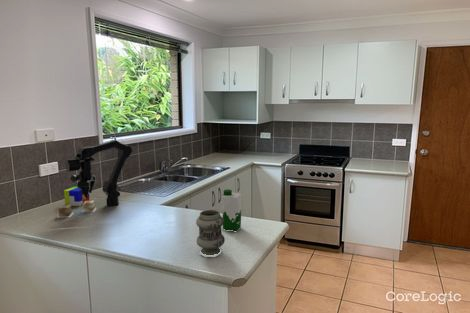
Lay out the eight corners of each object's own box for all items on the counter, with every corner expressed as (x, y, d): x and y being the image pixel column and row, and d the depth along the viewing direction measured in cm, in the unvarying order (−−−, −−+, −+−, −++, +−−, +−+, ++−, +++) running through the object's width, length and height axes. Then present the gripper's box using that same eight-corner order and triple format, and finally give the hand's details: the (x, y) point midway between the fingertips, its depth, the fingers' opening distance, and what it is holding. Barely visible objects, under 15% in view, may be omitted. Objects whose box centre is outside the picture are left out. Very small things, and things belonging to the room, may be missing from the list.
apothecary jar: (203, 245, 151) (202, 206, 148) (228, 248, 148) (228, 209, 145) (192, 257, 140) (191, 215, 137) (219, 260, 136) (218, 218, 134)
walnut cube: (71, 213, 193) (71, 205, 192) (68, 216, 188) (68, 207, 187) (62, 213, 192) (61, 205, 191) (59, 216, 187) (58, 208, 186)
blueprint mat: (97, 208, 203) (97, 207, 203) (90, 217, 189) (90, 215, 188) (64, 210, 200) (64, 209, 200) (55, 218, 186) (55, 217, 186)
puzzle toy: (79, 207, 207) (78, 191, 205) (65, 206, 209) (63, 190, 207) (89, 202, 216) (88, 187, 215) (75, 201, 218) (74, 186, 217)
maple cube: (94, 208, 201) (94, 200, 201) (92, 211, 197) (92, 203, 196) (86, 209, 201) (85, 200, 200) (83, 211, 196) (83, 203, 195)
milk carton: (226, 224, 176) (226, 187, 173) (243, 227, 173) (243, 189, 170) (220, 231, 168) (219, 192, 165) (237, 233, 165) (237, 194, 161)
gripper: (76, 166, 202) (78, 191, 205) (66, 173, 184) (68, 200, 187) (95, 165, 204) (97, 190, 207) (87, 172, 186) (89, 199, 189)
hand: (88, 194), depth 197 cm, fingers open, 9 cm apart
